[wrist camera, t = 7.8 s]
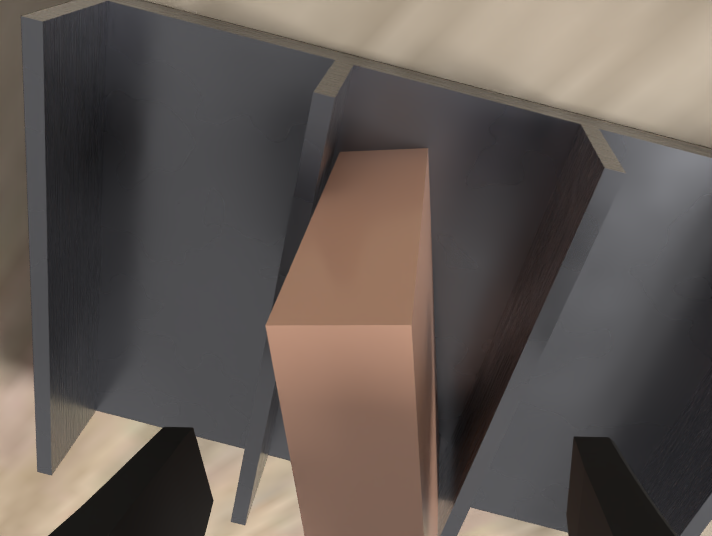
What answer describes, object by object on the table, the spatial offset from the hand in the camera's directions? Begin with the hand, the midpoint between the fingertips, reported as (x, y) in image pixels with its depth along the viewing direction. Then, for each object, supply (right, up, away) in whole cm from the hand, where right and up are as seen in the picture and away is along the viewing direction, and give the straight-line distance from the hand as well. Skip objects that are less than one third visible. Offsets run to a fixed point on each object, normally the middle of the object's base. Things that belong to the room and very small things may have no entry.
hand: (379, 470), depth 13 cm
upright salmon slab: (+1, +3, +5) cm, 5 cm away
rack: (+1, +3, +5) cm, 6 cm away
